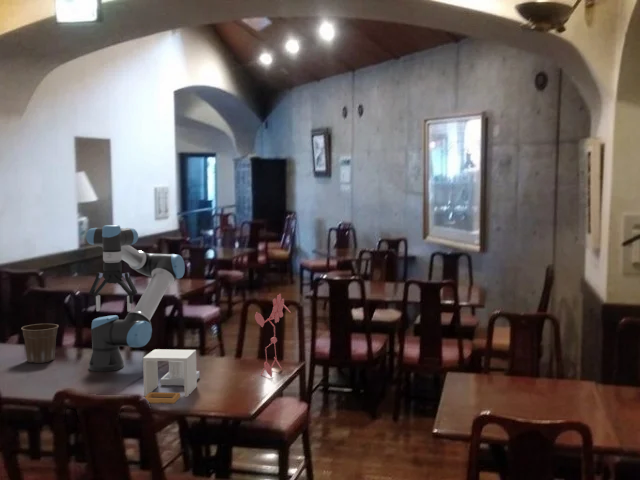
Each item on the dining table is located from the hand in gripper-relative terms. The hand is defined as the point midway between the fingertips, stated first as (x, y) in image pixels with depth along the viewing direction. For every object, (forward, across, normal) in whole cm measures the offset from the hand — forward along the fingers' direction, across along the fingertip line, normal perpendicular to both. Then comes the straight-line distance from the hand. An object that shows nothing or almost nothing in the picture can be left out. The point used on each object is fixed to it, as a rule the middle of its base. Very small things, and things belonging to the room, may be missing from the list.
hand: (113, 310), depth 303 cm
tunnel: (+29, +30, -19) cm, 46 cm away
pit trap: (+29, +30, -31) cm, 52 cm away
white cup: (+29, +30, -8) cm, 42 cm away
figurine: (+29, +70, +8) cm, 76 cm away
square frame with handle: (+28, +30, 0) cm, 41 cm away
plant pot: (+29, -46, +26) cm, 60 cm away
